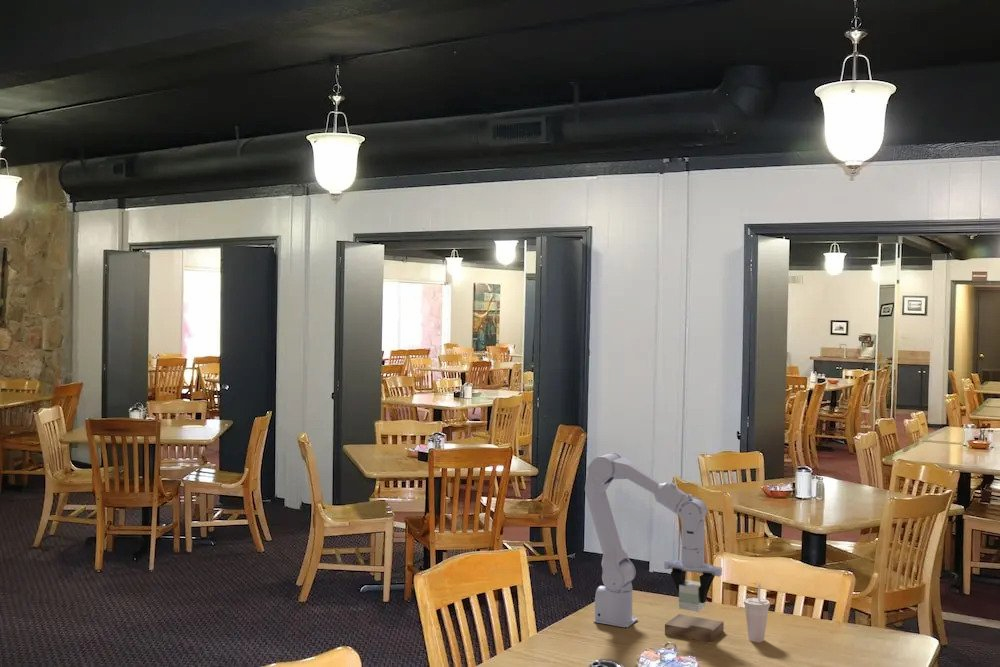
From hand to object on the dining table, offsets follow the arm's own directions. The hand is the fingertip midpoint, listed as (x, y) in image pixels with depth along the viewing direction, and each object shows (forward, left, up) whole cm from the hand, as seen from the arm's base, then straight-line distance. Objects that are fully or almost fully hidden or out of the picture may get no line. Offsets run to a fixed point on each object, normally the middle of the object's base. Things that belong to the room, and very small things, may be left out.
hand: (692, 600), depth 246 cm
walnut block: (0, +1, -9) cm, 9 cm away
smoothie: (+15, +4, -9) cm, 18 cm away
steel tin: (0, 0, -2) cm, 2 cm away
